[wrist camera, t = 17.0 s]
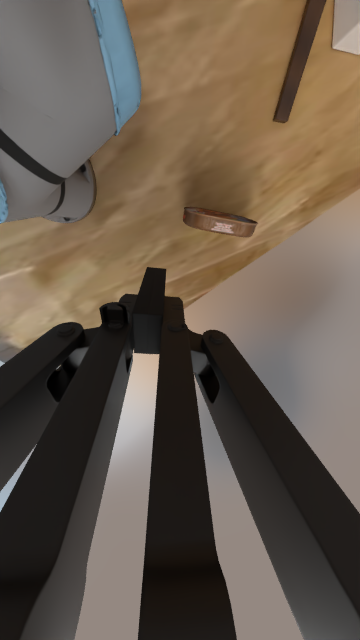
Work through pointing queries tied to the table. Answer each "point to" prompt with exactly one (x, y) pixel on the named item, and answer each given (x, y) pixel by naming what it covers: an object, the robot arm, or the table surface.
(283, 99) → the serving spoon
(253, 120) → the table surface
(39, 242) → the table surface
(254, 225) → the tin
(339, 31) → the jar
